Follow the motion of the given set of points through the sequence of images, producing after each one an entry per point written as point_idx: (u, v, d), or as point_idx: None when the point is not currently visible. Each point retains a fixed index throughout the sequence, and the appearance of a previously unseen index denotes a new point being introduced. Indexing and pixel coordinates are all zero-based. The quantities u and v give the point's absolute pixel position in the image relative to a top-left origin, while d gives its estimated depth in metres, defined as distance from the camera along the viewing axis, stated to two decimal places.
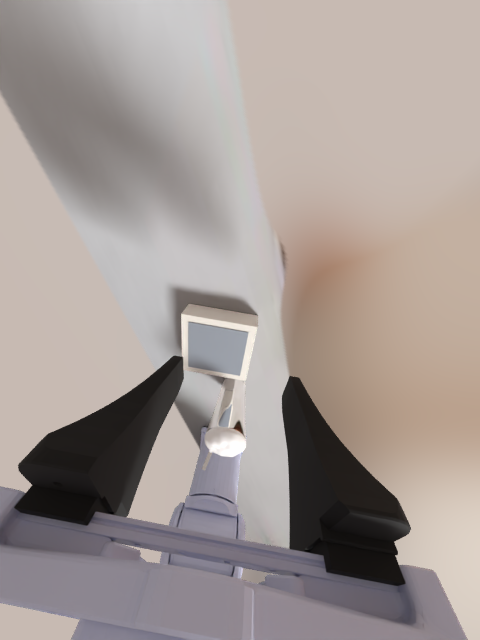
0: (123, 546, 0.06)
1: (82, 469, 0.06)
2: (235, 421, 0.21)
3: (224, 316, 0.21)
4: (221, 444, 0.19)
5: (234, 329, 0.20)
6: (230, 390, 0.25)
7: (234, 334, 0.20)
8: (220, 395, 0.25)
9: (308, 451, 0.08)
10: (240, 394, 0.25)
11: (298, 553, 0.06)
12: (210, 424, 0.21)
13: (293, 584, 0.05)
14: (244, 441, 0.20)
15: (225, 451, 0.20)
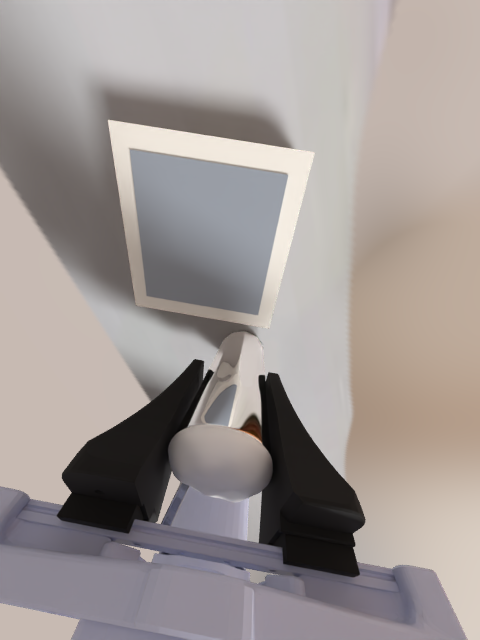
0: (123, 546, 0.06)
1: (128, 478, 0.06)
2: (246, 412, 0.08)
3: None
4: (206, 473, 0.07)
5: (250, 168, 0.08)
6: (235, 351, 0.12)
7: (249, 187, 0.08)
8: (214, 361, 0.12)
9: (277, 445, 0.08)
10: (255, 360, 0.12)
11: None
12: (185, 417, 0.09)
13: (293, 584, 0.05)
14: (269, 465, 0.08)
15: (219, 490, 0.08)
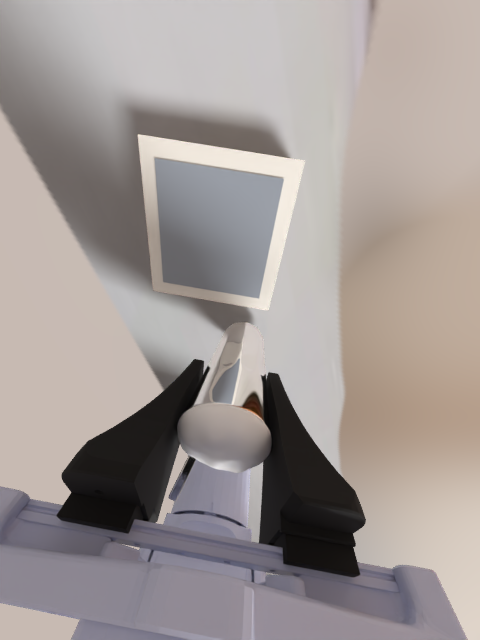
0: (123, 546, 0.06)
1: (128, 478, 0.06)
2: (248, 393, 0.09)
3: None
4: (213, 444, 0.08)
5: (252, 174, 0.09)
6: (237, 340, 0.13)
7: (252, 188, 0.10)
8: (217, 350, 0.13)
9: (277, 445, 0.08)
10: (256, 348, 0.13)
11: None
12: (192, 398, 0.09)
13: (293, 584, 0.05)
14: (269, 439, 0.09)
15: (224, 461, 0.08)
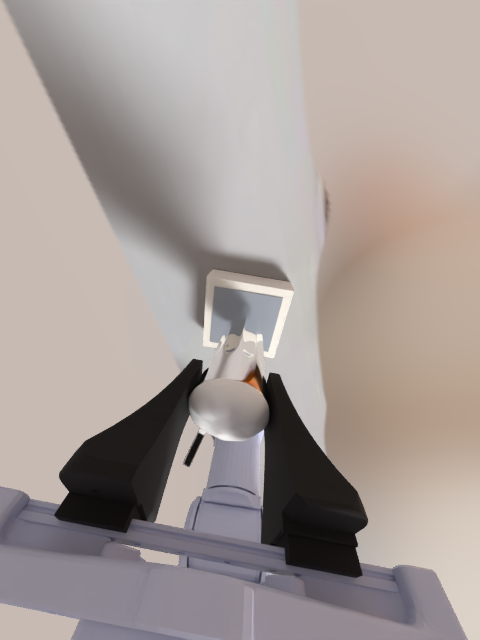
0: (123, 546, 0.06)
1: (125, 477, 0.06)
2: (247, 371, 0.11)
3: (255, 280, 0.18)
4: (219, 411, 0.09)
5: (266, 295, 0.18)
6: (238, 332, 0.15)
7: (265, 300, 0.18)
8: (221, 341, 0.15)
9: (278, 445, 0.08)
10: (255, 338, 0.14)
11: None
12: (200, 379, 0.11)
13: (293, 584, 0.05)
14: (266, 409, 0.10)
15: (228, 428, 0.10)
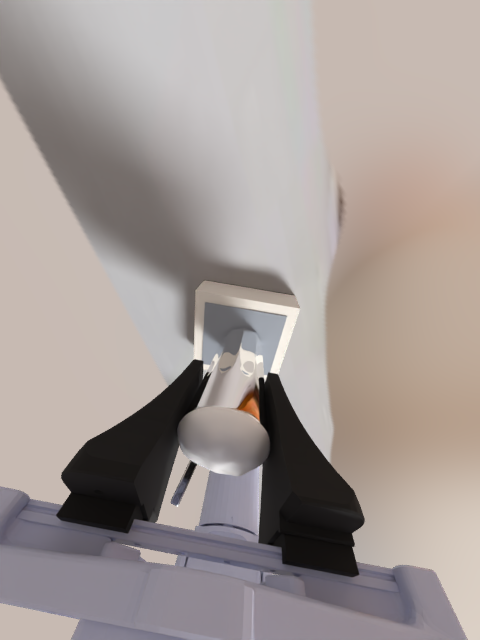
0: (123, 546, 0.06)
1: (128, 478, 0.06)
2: (245, 396, 0.09)
3: (253, 295, 0.15)
4: (211, 446, 0.08)
5: (267, 312, 0.15)
6: (235, 345, 0.13)
7: (266, 319, 0.15)
8: (216, 355, 0.13)
9: (276, 445, 0.08)
10: (254, 352, 0.13)
11: None
12: (191, 403, 0.10)
13: (293, 584, 0.05)
14: (267, 441, 0.09)
15: (223, 464, 0.09)
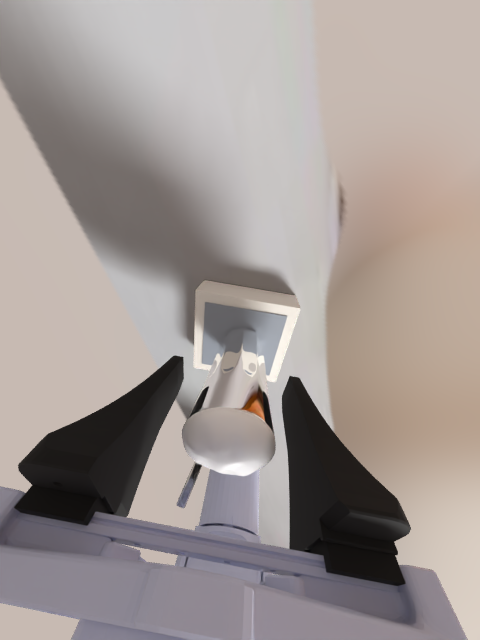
0: (123, 546, 0.06)
1: (82, 469, 0.06)
2: (249, 396, 0.09)
3: (253, 295, 0.15)
4: (218, 448, 0.08)
5: (267, 312, 0.15)
6: (236, 345, 0.13)
7: (266, 319, 0.15)
8: (218, 356, 0.13)
9: (308, 451, 0.08)
10: (255, 352, 0.13)
11: (298, 553, 0.06)
12: (195, 404, 0.10)
13: (293, 584, 0.05)
14: (272, 440, 0.09)
15: (229, 465, 0.09)
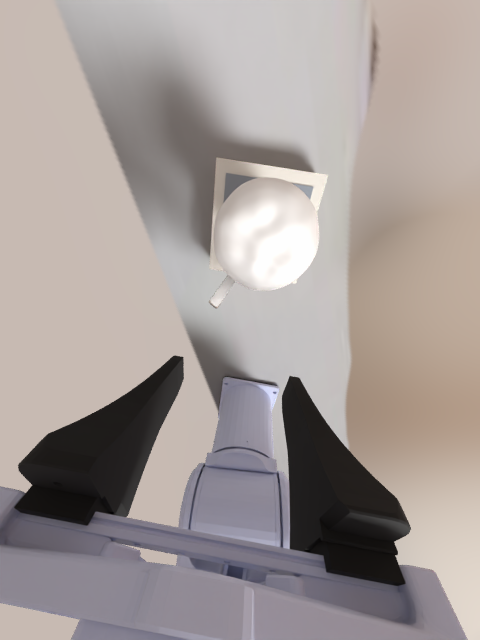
0: (123, 546, 0.06)
1: (82, 469, 0.06)
2: None
3: None
4: (261, 206, 0.07)
5: (292, 183, 0.14)
6: None
7: None
8: None
9: (308, 451, 0.08)
10: None
11: (298, 553, 0.06)
12: None
13: (293, 584, 0.05)
14: (317, 224, 0.08)
15: (270, 246, 0.08)
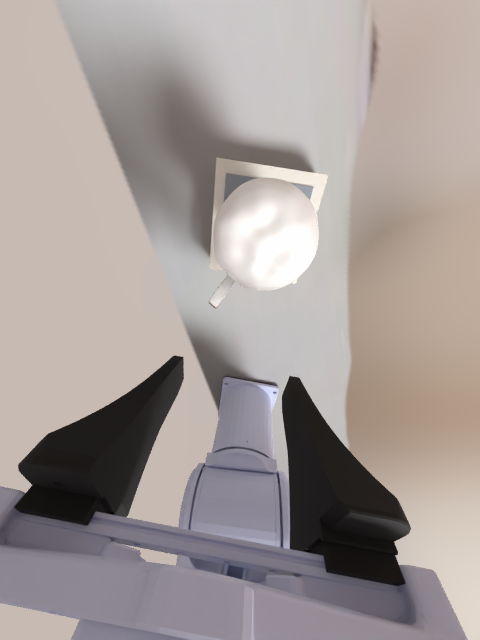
0: (123, 546, 0.06)
1: (82, 469, 0.06)
2: None
3: None
4: (260, 207, 0.07)
5: (292, 183, 0.14)
6: None
7: None
8: None
9: (308, 451, 0.08)
10: None
11: (298, 553, 0.06)
12: None
13: (293, 584, 0.05)
14: (317, 224, 0.08)
15: (269, 246, 0.08)
